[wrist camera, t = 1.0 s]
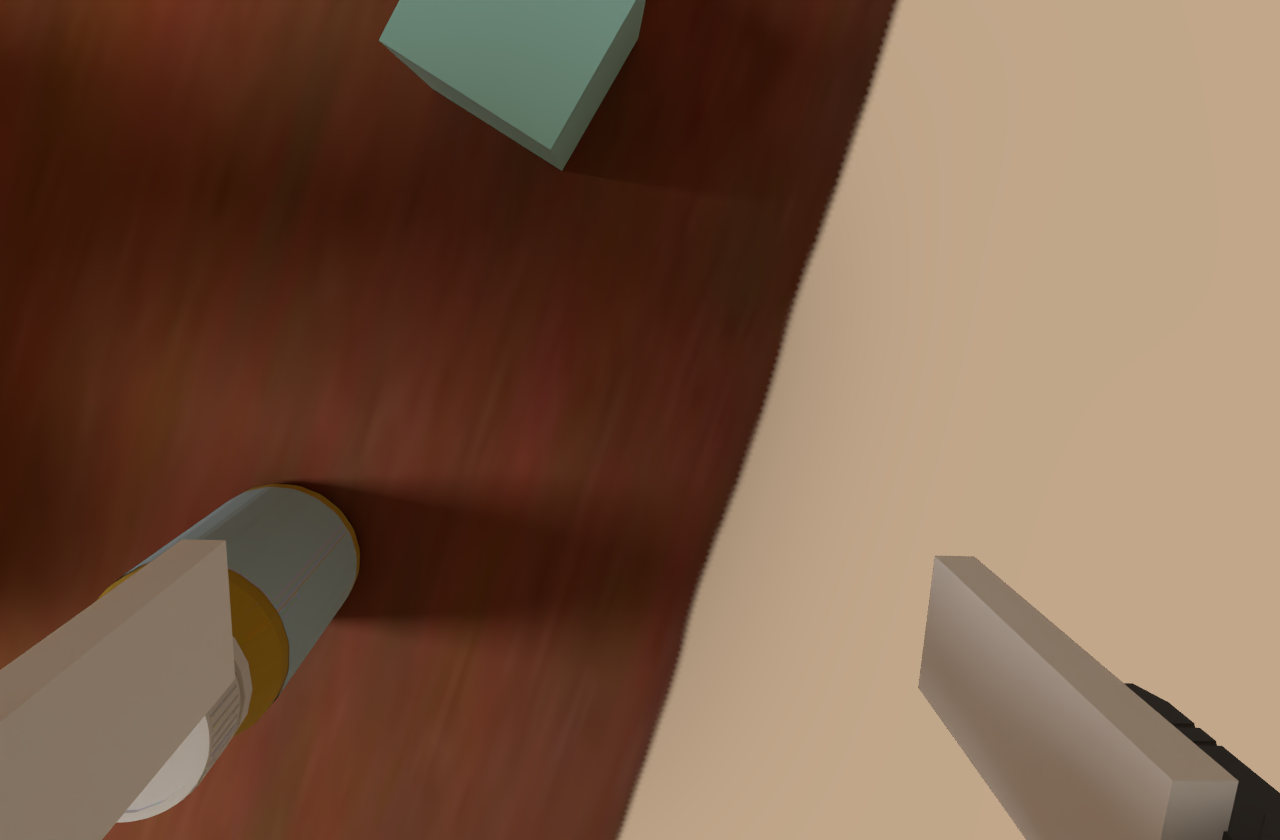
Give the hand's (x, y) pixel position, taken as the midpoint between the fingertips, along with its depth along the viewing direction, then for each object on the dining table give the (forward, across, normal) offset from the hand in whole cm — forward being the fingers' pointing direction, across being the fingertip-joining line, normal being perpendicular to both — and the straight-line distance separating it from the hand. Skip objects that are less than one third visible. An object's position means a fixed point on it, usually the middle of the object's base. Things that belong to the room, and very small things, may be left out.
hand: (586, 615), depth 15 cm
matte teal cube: (+24, -3, +14) cm, 28 cm away
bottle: (+24, -14, -8) cm, 29 cm away
